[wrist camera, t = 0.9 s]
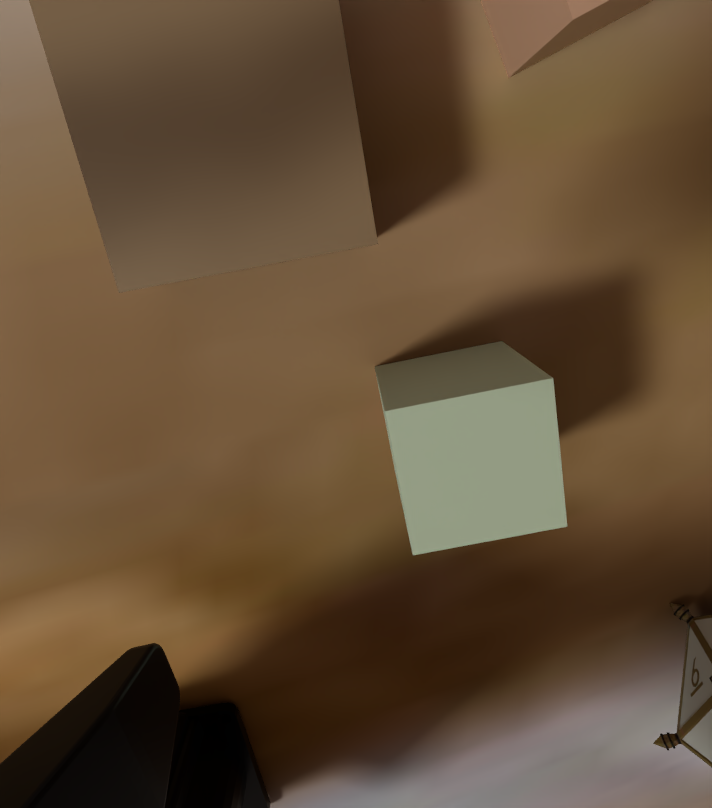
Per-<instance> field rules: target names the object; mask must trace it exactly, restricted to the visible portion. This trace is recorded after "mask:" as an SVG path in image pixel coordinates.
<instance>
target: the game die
mask: <svg viewBox="0 0 712 808" xmlns="http://www.w3.org/2000/svg"><path fill="white" fill-rule="evenodd" d="M670 605H671V607H672V609H673V611H674V615H677V616H678V617H679V619H680V620H681V619H682V620H684V621H686V622H687V623H688V630H687V639H686V649H685V658H684V668H683V677H682V687H681V696H680V706H679V715H678V725H677V733H675V734H669V732H668V733H667V734H664V735H663V734H660V735H661V736H660V737H659V738H658V739H657V740H656V741H655V742H654V743H653V744H656V745H659V746H661V747H664V748H666V749H667V750H669V749H668V748H672V747H673V748H675V746H676V745H678V744H683V745H684V746H685V747H686V748H688V749H689V750H690V751H691V752H693V753H694V754H695V755H697V756H698V757H699V758H700V759H702V760H703V761H704V762H706V763H707V764H708V765H709V766H711V767H712V614H711V615H705V616H699V617H693V616H692V615H691V614H690V612H689V609H688V610H687V609H686V608H685V607H684V605H678V604H674V603H670Z"/></svg>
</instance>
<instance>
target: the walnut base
mask: <svg viewBox="0 0 712 808" xmlns="http://www.w3.org/2000/svg"><path fill="white" fill-rule="evenodd" d="M29 2H30V5H31V8H32V11H33V15H34V18H35V21H36V24H37V28H38V31H39V34H40V37H41V41H42V44H43V47H44V50H45V54H46V57H47V60H48V63H49V67H50V70H51V73H52V76H53V80H54V83H55V86H56V89H57V93H58V96H59V99H60V102H61V106H62V109H63V112H64V116H65V119H66V122H67V125H68V129H69V132H70V135H71V138H72V142H73V145H74V148H75V151H76V155H77V158H78V161H79V164H80V168H81V171H82V174H83V177H84V181H85V184H86V187H87V190H88V194H89V197H90V200H91V203H92V207H93V210H94V213H95V216H96V220H97V223H98V226H99V229H100V233H101V236H102V239H103V242H104V246H105V249H106V252H107V255H108V259H109V262H110V265H111V268H112V272H113V275H114V278H115V281H116V285H117V288H118V291H119V293H121V292H126V291H131V290H137V289H142V288H147V287H153V286H158V285H163V284H169V283H174V282H179V281H185V280H190V279H195V278H201V277H206V276H211V275H217V274H222V273H227V272H233V271H238V270H243V269H249V268H254V267H259V266H265V265H270V264H275V263H281V262H286V261H291V260H296V259H302V258H307V257H312V256H318V255H323V254H328V253H334V252H339V251H344V250H350V249H355V248H360V247H366V246H371V245H376V244H378V241H377V234H376V228H375V222H374V216H373V210H372V203H371V197H370V191H369V185H368V179H367V172H366V166H365V160H364V154H363V148H362V141H361V135H360V129H359V123H358V116H357V110H356V104H355V98H354V92H353V85H352V79H351V73H350V67H349V61H348V54H347V48H346V42H345V36H344V30H343V23H342V17H341V11H340V5H339V0H29Z"/></svg>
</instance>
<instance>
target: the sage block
mask: <svg viewBox="0 0 712 808" xmlns="http://www.w3.org/2000/svg"><path fill="white" fill-rule="evenodd" d="M375 371H376V376H377V381H378V386H379V392H380V397H381V402H382V407H383V412H384V417H385V422H386V427H387V432H388V437H389V442H390V448H391V453H392V458H393V463H394V468H395V473H396V478H397V483H398V488H399V492H400V497H401V502H402V507H403V511H404V516H405V521H406V525H407V530H408V535H409V540H410V544H411V549H412V554H413V555H418V554H423V553H428V552H434V551H439V550H445V549H450V548H455V547H461V546H466V545H471V544H477V543H482V542H487V541H493V540H498V539H503V538H509V537H514V536H520V535H525V534H530V533H536V532H541V531H546V530H552V529H557V528H562V527H567V518H566V508H565V497H564V486H563V476H562V465H561V455H560V444H559V434H558V423H557V412H556V402H555V391H554V381H553V377H551V376H550V375H548V374H547V373H546V372H544V371H543V370H541V369H540V368H539V367H537V366H536V365H534V364H533V363H532V362H530V361H529V360H528V359H526V358H525V357H523V356H522V355H521V354H519V353H518V352H516V351H515V350H514V349H512V348H511V347H509V346H508V345H507V344H505V343H504V342H503V341H499V342H494V343H489V344H484V345H479V346H474V347H470V348H465V349H460V350H455V351H450V352H445V353H440V354H435V355H430V356H425V357H420V358H415V359H410V360H405V361H400V362H395V363H390V364H385V365H380V366H375Z"/></svg>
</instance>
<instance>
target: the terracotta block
mask: <svg viewBox="0 0 712 808" xmlns="http://www.w3.org/2000/svg"><path fill="white" fill-rule="evenodd" d="M651 1H652V0H481V2H482V5H483V8H484V11H485V14H486V16H487V19H488V22H489V25H490V28H491V30H492V33H493V36H494V39H495V41H496V44H497V47H498V50H499V53H500V55H501V58H502V61H503V64H504V66H505V69H506V72H507V75H508V78H509V77H511V76H513V75H515V74H517V73H519V72H520V71H522V70H524V69H526V68H528V67H530V66H532V65H534V64H535V63H537V62H539V61H541V60H543V59H545V58H547V57H548V56H550V55H552V54H554V53H556V52H558V51H560V50H562V49H563V48H565V47H567V46H569V45H571V44H573V43H575V42H576V41H578V40H580V39H582V38H584V37H586V36H588V35H590V34H591V33H593V32H595V31H597V30H599V29H601V28H603V27H604V26H606V25H608V24H610V23H612V22H614V21H616V20H618V19H619V18H621V17H623V16H625V15H627V14H629V13H631V12H632V11H634V10H636V9H638V8H640V7H642V6H644V5H646V4H647V3H649V2H651Z"/></svg>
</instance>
